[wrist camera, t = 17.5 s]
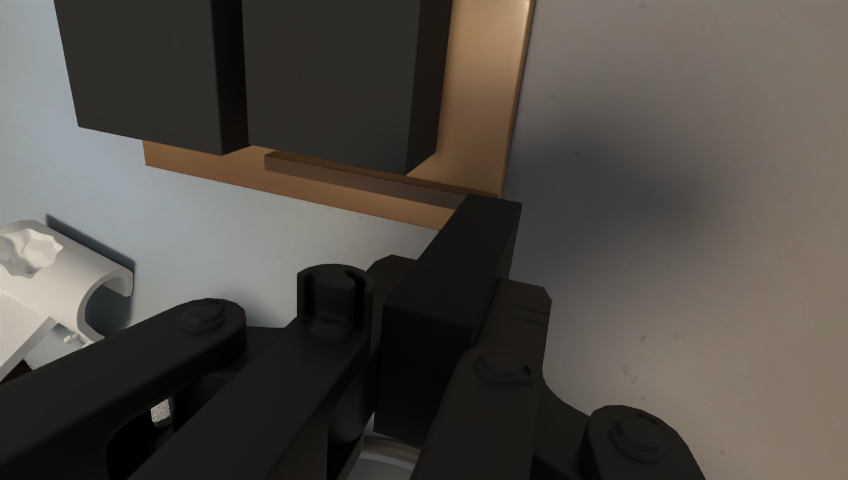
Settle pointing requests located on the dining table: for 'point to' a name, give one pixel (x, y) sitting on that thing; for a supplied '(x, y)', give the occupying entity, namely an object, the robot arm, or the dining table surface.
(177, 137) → the pad
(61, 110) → the dining table surface
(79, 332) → the plastic part
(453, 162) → the tray
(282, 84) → the black rectangular block
